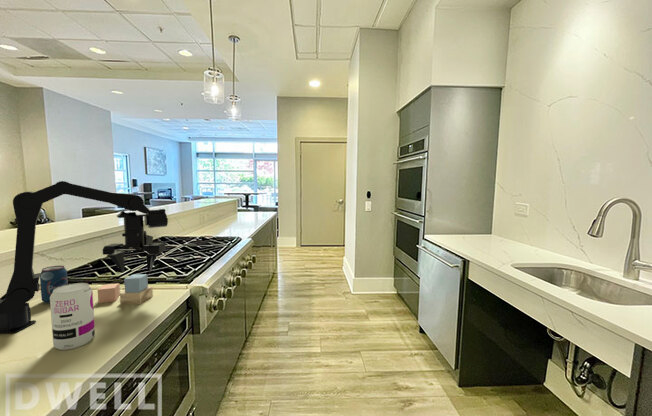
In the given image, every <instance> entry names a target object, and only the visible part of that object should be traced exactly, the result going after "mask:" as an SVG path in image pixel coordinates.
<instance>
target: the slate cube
mask: <svg viewBox="0 0 652 416" xmlns="http://www.w3.org/2000/svg"><path fill="white" fill-rule="evenodd" d="M148 284H149V282H148V274H146V273H145V274H143V273H142V274H141V273H140V274H135V273H134V274H131V275H130V276H127V277H126V278H124V291H125V293H140V292H141V291H143V290H145V289H146V288H148V286H149V285H148Z"/></svg>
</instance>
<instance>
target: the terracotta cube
mask: <svg viewBox="0 0 652 416" xmlns="http://www.w3.org/2000/svg"><path fill="white" fill-rule="evenodd" d="M120 288H121V287H120V283H109V284H102V285H100V287H99V288H97V300H98V301H97V303H98V304H103V303H110V302H116V301H117V300H118V299H120V297H119V296H120V293H121V291H120V290H121V289H120Z"/></svg>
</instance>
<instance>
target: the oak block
mask: <svg viewBox="0 0 652 416" xmlns="http://www.w3.org/2000/svg"><path fill="white" fill-rule="evenodd" d="M153 292H154V291H153V286H150V285H148V288H146V289H145V290H143V291H141V292H140V293H125V290H123V291H122V292H120V297H119V299H120V301H119V303H120V304H121V305H122V304H123V305H125V304H126V305H141V304H143V303H144V302H146V301H147V300H149V299H151V298H152V297H153V296H154V293H153ZM150 297H151V298H150Z"/></svg>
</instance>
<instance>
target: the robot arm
mask: <svg viewBox="0 0 652 416" xmlns="http://www.w3.org/2000/svg"><path fill="white" fill-rule="evenodd" d="M63 195H68V196H73V197H77V198H84V199H87V200H93V201H97V202H103V203H108V204H111V205H114V206H117V207H120V208H122V209H125V210H128V211H129V212H125V210H121V211H120V212H119V213H118V214H116V218H118V219H123V229H124V232H123V233H122V234H121V236H122V237H124V243H110V244H108V245H104V246H103V248H102V250H101V251H102V255H104V256H105V255H106V258H110V259H111V261H112V262H113V263H114V264H115V265H116V267H117V268H118V270H119V271H120V273H124V272H125V258H124V256H125V254H126V252H146V253H147V254H146V255H145V258H146V267H147V271H148V273H150V272H151V271H152V269H153V266H154V263H155V261H156V258H157V257H158V255H159V254H162V253H163V252H165V251H166V250H167V248H166V247H167V246H166V244H165V243H164V242H155V243H153V240H154V236H152V235H149V234H147V231H146V230H144V229H145V226H147V227H148V228H149V229H152V228H153V229H154V228H164V227H165V228H166V227H168V223H169V221H168V220H169V218H168V216H167V212H166V209H164V208H159V209H149V207H147V206H146V205H145V202H144V199H143V197H141V196H140V195H138V194H134V193H133V194H132V193H124V192H123V193H121V192H118V193H117V192H110V191H107V190H101V189H97V188H93V187H88V186H84V185H79V184H74V183H71V182H69V181H65V180H64V181H63V180H60V181H58V182H56V183H55V184H52V185H49V186H47V187H44V188H42V189H38V190H37V191H23V192H19V193H18V194H17V195H15V196H14V197H13V199H12V206H13V211H14V215H15V219H16V223H17V226H16V237H15V238H16V240H15V251H14V252H15V253H14V262H13V263H14V265H13V273H12V276H11V278H10V281H9V283H8V286H7V289H6V292H5V293H4V294H3V295H2V296H1V297H0V334H15V333H19V332H20V331H22V330H24V329H25V328H28V327H29V326H32V325H33V324H36V322H37V320H33V319H32V315H31V307H30V303H29V301H31V300H32V299H34V297H35V294H36V293H38V292H39V291H40V287H41V285H40V281H39V280H40V273H41V272H38V273H34V268H33V265H34V255H35V254H34V252H35V241H36V228H37V221H38V218H39V216H40V213H41V210H42V207H43V204H44V203H46V202H49V201H52V200H54V199H56V198H58V197H60V196H63ZM137 212H139V213H142V214H137Z"/></svg>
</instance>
